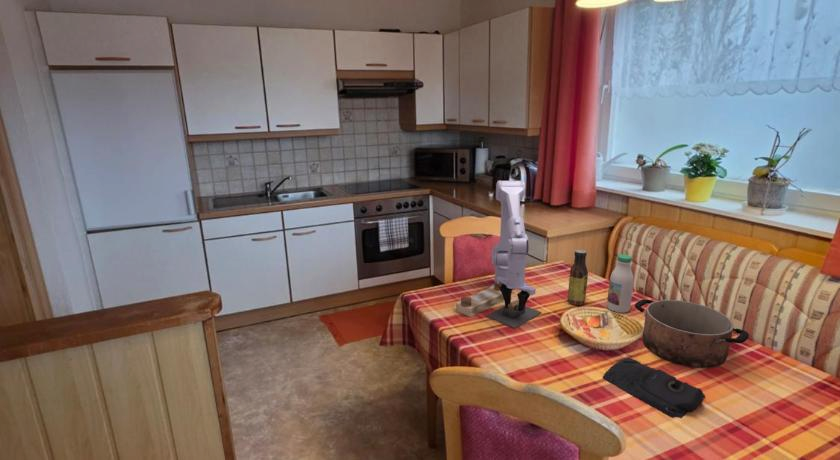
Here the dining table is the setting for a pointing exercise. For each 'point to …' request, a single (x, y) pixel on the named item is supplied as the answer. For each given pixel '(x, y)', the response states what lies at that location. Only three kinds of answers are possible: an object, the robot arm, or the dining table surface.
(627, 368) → the black flat holed part
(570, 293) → the sauce bottle
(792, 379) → the dining table surface
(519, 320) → the rubber mat
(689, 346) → the cooking pot
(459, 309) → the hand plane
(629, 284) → the milk bottle
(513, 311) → the lever cap
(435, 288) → the dining table surface
